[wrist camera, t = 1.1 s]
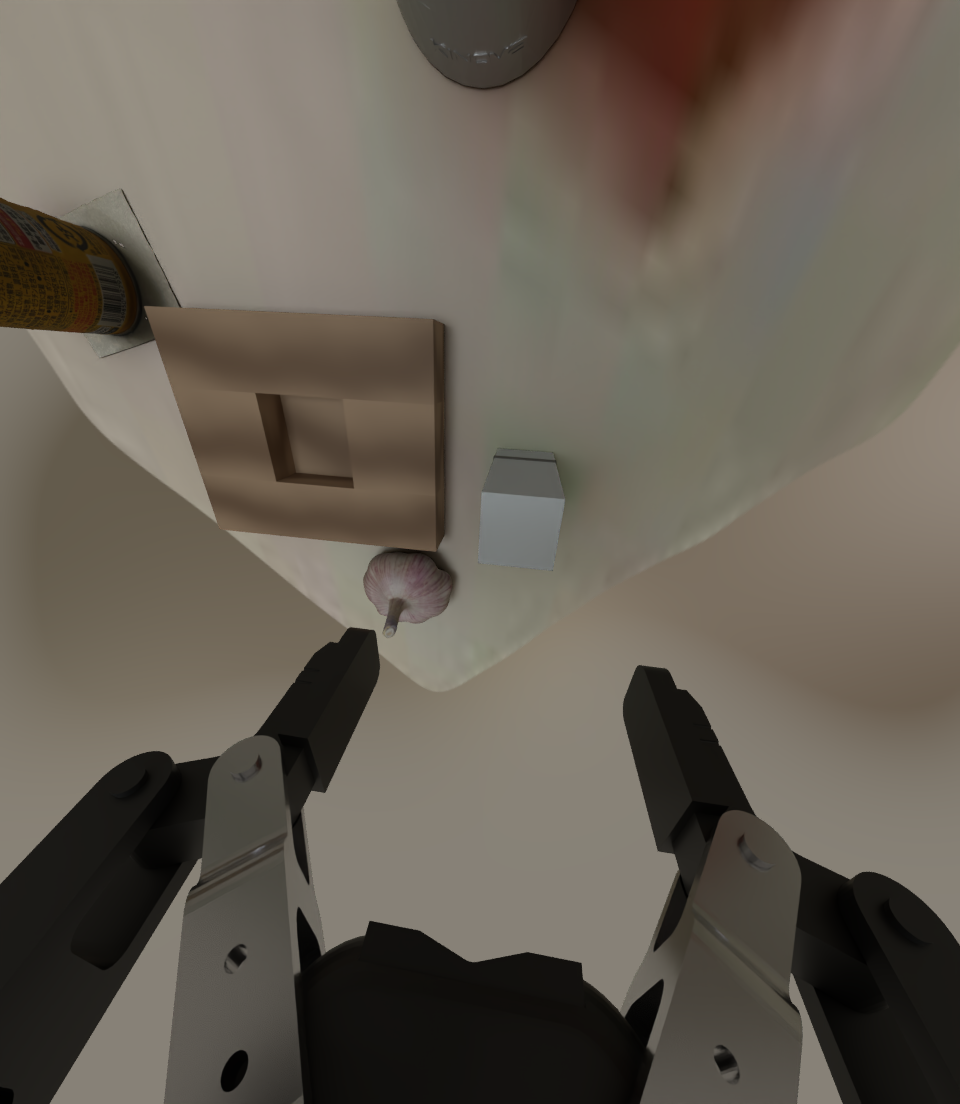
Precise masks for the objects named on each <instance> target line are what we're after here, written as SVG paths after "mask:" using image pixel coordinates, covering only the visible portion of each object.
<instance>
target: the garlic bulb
mask: <svg viewBox="0 0 960 1104" xmlns="http://www.w3.org/2000/svg"><path fill="white" fill-rule="evenodd" d="M363 583H364V588H365V592H366V595H367V597H368V598H369V600H370V601H371V602H372V603H373V604H374V605H375V607H376V608H377V611H378V612H379V613H380V614H381V615H384V616H387V619H386V623H385V627H384V630H383V635H384V636H385V637H386V638H389V637H392V636H393V635H394V634H395V632H396V629H397V624H398V622H410V623H422V622H425V621H426V620H428V619H429V618H431V617H435V616H438V615H439V614H441V613H442V612H443V611H444V610H445V609H446V607H447V605H448V603H449V596H450V593H451V590H452V587H453V583H452V579H451V577H450V575H449V574H448V573H447V572H445V571H443V570H439V569H438V568H437V567H436V565H435V563H434V562H433V560H432V559H430V558H429V557H428V556H426V555H424V554H420V553H411V554H405V553H401V552H393V553H381V554H379V555H377V556H375V557H374V558H373V559H372V560H371V561H370V563H369V566H368V570H367V572H366V573H365V575H364V579H363Z"/></svg>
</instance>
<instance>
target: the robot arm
mask: <svg viewBox="0 0 960 1104" xmlns="http://www.w3.org/2000/svg"><path fill="white" fill-rule="evenodd" d="M576 1H577V0H397V3H398V6H399V8H400V11H401V14H402V16H403V18H404V20H405V23H406V25H407V27H408V29H409V31H410V33H411V35H412V37H413V39H414V41H415V43H416V44H417V45H418V47H419V48H420V50H421V51H422V52H423V54H424V55H425V57H426V58H427V59H428V61H429V62H430V63H431V64H432V65H434V66H435V67H436V68H437V69H438V70H439V71H440V72H441V73H443V74H444V75H445V76H446V77H448V78H450V79H452V80H454V81H456V82H458V83H460V84H462V85H465V86H472V87H478V88H487V87H493V86H499V85H503V84H505V83H507V82H509V81H511V80H513V79H515V78H517V77H519V76H521V75H523V74H524V73H525V72H526V71H528V70H529V69H530V68H531V67H532V66H533V65H535V64H536V63H537V62H538V61H539V60H540V59H541V58H542V57H543V56H544V54H545V53H546V52H547V51H548V49H549V48H550V47H551V46H552V44H553V43H554V42H555V40H556V39H557V38H558V36H559V35H560V33H561V31H562V29H563V27H564V26H565V24H566V22H567V20H568V18H569V16H570V15H571V13H572V11H573V9H574V6H575V4H576ZM379 670H380V662H379V654H378V646H377V638H376V633H375V631H374V630H368V629H360V628H352V627H350V628H348V629H347V631H346V632H345V634H344V635H343V636H342V638H341V639H340V641H339V642H338V643H334V642H329V643H328V644H327V645H325V646H324V647H323V648H321V649H320V650H319V651H317V652H316V653H315V654H314V655H313V657H312V658H311V659H310V661H309V662H308V663H307V665H306V666H305V667H304V671H302V672H301V673H300V674H299V676H298V677H297V679H296V681H295V683H293V684H292V685H291V687H290V688H289V690H288V691H287V692H286V694H285V695H284V697H283V698H282V699H281V701H280V702H279V704H278V705H277V706H276V708H275V709H274V710H273V712H272V713H271V715H270V716H269V717H268V719H267V720H266V721H265V723H264V724H263V726H262V727H261V728H260V730H259V731H258V732H257V733H256V734H255V735H254V736H253V737H249V738H246V739H244V740H241V741H239V742H238V743H236V744H234V745H233V746H231V747H230V748H228V749H227V750H226V751H225V752H224V753H223V754H222V755H221V756H217V757H213V758H208V759H201V760H195V761H190V762H184V763H178V764H174V762H173V760H172V759H171V757H170V756H169V755H168V754H166V753H164V752H160V751H152V752H146V753H142V754H139V755H137V756H134V757H132V758H130V759H127V760H126V761H124V762H122V763H121V764H119V765H117V766H116V767H114V768H113V769H112V770H110V771H109V772H108V773H107V774H106V775H104V776H103V777H102V778H101V779H100V780H99V782H97V783H96V784H95V785H94V787H93V788H92V789H91V790H90V791H89V792H88V793H87V794H86V795H85V796H84V797H83V798H82V799H81V800H80V801H79V802H78V803H77V804H76V805H75V806H74V808H73V809H72V810H71V811H70V812H69V813H68V814H67V815H66V816H65V817H64V818H63V819H62V820H61V821H60V822H59V823H58V824H57V825H56V826H55V828H54V829H53V830H52V831H51V832H50V833H49V834H48V835H47V836H46V837H45V838H44V839H43V840H42V841H41V842H40V843H39V844H38V845H37V846H36V847H35V848H34V849H33V850H32V852H31V853H30V854H29V855H28V856H27V857H26V858H25V859H24V860H23V861H22V862H21V863H20V864H19V865H18V866H17V867H16V868H15V869H14V870H13V872H12V873H11V874H10V875H9V876H8V877H7V878H6V879H5V880H4V881H3V882H2V883H1V884H0V1104H50V1102H51V1100H52V1098H53V1097H54V1095H55V1094H56V1092H57V1090H58V1089H59V1087H60V1085H61V1084H62V1082H63V1081H64V1079H65V1077H66V1076H67V1074H68V1072H69V1071H70V1069H71V1067H72V1066H73V1064H74V1062H75V1061H76V1059H77V1058H78V1056H79V1054H80V1053H81V1051H82V1049H83V1048H84V1046H85V1044H86V1043H87V1041H88V1039H89V1038H90V1036H91V1034H92V1033H93V1031H94V1030H95V1028H96V1026H97V1025H98V1023H99V1021H100V1020H101V1018H102V1016H103V1015H104V1013H105V1012H106V1010H107V1008H108V1006H109V1005H110V1003H111V1002H112V1000H113V998H114V997H115V995H116V993H117V992H118V990H119V989H120V987H121V985H122V983H123V982H124V980H125V979H126V977H127V975H128V974H129V972H130V970H131V969H132V967H133V965H134V964H135V962H136V960H137V959H138V957H139V956H140V954H141V952H142V951H143V949H144V947H145V946H146V944H147V942H148V941H149V939H150V937H151V936H152V934H153V933H154V931H155V929H156V928H157V926H158V924H159V923H160V921H161V919H162V918H163V916H164V915H165V913H166V911H167V910H168V908H169V906H170V905H171V903H172V901H173V900H174V898H175V896H176V895H177V893H178V891H179V890H180V888H181V886H182V885H183V883H184V882H185V880H186V878H187V877H188V875H189V873H190V872H191V870H192V869H193V867H194V865H195V864H196V862H197V860H198V859H200V858H202V865H201V874H200V879H199V882H198V883H197V885H195V886H194V887H192V888H191V890H190V892H189V893H188V896H187V899H186V903H185V908H184V915H183V924H182V935H181V944H180V953H179V963H178V973H177V982H176V992H175V1002H174V1012H173V1021H172V1031H171V1041H170V1051H169V1060H168V1070H167V1079H166V1089H165V1099H164V1104H797V1097H798V1086H799V1074H800V1063H801V1052H802V1037H803V1034H802V1021H801V1016H800V1013H799V1010H798V1009H797V1007H796V1006H795V1005H794V1004H792V1002H791V1000H790V997H789V982H790V974H791V973H792V974H793V976H794V978H795V981H796V984H797V986H798V989H799V991H800V994H801V996H802V999H803V1002H804V1005H805V1007H806V1010H807V1012H808V1015H809V1017H810V1020H811V1023H812V1025H813V1028H814V1030H815V1033H816V1035H817V1038H818V1041H819V1043H820V1046H821V1049H822V1051H823V1053H824V1056H825V1059H826V1061H827V1064H828V1067H829V1069H830V1071H831V1074H832V1077H833V1080H834V1082H835V1085H836V1087H837V1090H838V1092H839V1095H840V1098H841V1100H842V1102H843V1104H960V945H959V944H958V942H957V941H956V939H955V938H954V936H953V935H952V933H951V932H950V931H949V930H948V928H947V927H946V925H945V924H944V923H943V922H942V921H941V919H940V918H939V917H938V916H937V915H936V914H935V913H934V912H933V911H932V910H931V909H930V908H929V907H928V906H927V905H926V904H925V903H924V902H923V901H922V900H921V899H920V898H918V897H917V896H916V895H915V894H913V893H912V892H911V891H910V890H908V889H907V888H905V887H904V886H902V885H901V884H899V883H898V882H896V881H894V880H892V879H891V878H888V877H886V876H884V875H881V874H878V873H874V872H862V873H859V874H858V875H856V876H855V877H853V878H852V879H848V878H846V877H844V876H842V875H839V874H837V873H835V872H833V871H831V870H829V869H827V868H825V867H822V866H821V865H819V864H816V863H814V862H812V861H810V860H808V859H806V858H804V857H802V856H800V855H798V854H796V853H795V852H793V851H792V850H791V849H790V848H789V846H788V845H787V843H786V842H785V841H784V839H783V838H782V837H781V836H780V835H779V834H778V833H777V832H776V831H775V830H774V829H773V828H772V827H771V826H769V825H768V824H767V823H765V822H764V821H762V820H761V819H759V818H758V817H757V816H756V815H755V814H754V812H753V810H752V808H751V806H750V804H749V802H748V800H747V798H746V796H745V794H744V792H743V790H742V788H741V786H740V784H739V782H738V780H737V778H736V776H735V774H734V772H733V770H732V768H731V766H730V764H729V762H728V760H727V757H726V756H725V753H724V752H723V749H722V747H721V746H719V744H718V739H717V737H716V735H715V733H714V731H713V730H712V729H711V725H710V723H709V721H708V719H707V717H706V715H705V713H704V711H703V709H702V707H701V706H700V705H699V704H698V702H697V701H696V700H695V699H694V698H693V697H692V696H691V695H690V694H689V693H688V691H687V690H681V689H677V688H676V685H675V683H674V681H673V678H672V676H671V674H670V672H669V671H668V670H667V669H665V668H657V667H649V666H642V665H639V666H637V668H636V670H635V672H634V675H633V677H632V680H631V682H630V685H629V688H628V690H627V693H626V695H625V698H624V703H623V717H624V722H625V726H626V730H627V734H628V738H629V741H630V745H631V749H632V753H633V757H634V760H635V765H636V769H637V772H638V776H639V780H640V784H641V788H642V792H643V795H644V799H645V803H646V807H647V811H648V815H649V819H650V822H651V826H652V830H653V834H654V838H655V842H656V846H657V849H658V851H660V852H666V853H672V854H675V857H676V860H677V863H678V867H679V870H678V871H677V873H676V876H675V878H674V881H673V884H672V887H671V889H670V892H669V894H668V897H667V900H666V903H665V905H664V908H663V911H662V913H661V916H660V919H659V921H658V924H657V927H656V930H655V932H654V935H653V938H652V940H651V943H650V946H649V948H648V951H647V953H646V955H645V958H644V960H643V962H642V963H641V965H640V967H639V969H638V971H637V972H636V974H635V976H634V979H633V981H632V983H631V985H630V987H629V990H628V992H627V995H626V997H625V1000H624V1003H623V1005H622V1008H621V1011H620V1012H619V1011H618V1009H617V1008H616V1007H615V1006H614V1005H613V1004H612V1003H611V1002H610V1001H609V1000H608V999H607V998H606V997H605V996H604V995H603V994H601V993H600V992H599V991H598V990H597V989H596V988H594V987H593V986H591V984H589V983H587V982H586V981H584V980H583V977H582V976H583V975H582V964H581V963H579V962H574V961H568V960H564V959H559V958H554V957H549V956H544V955H539V954H534V953H529V952H526V953H521V954H516V955H511V956H506V957H501V958H495V959H491V960H485V961H480V962H469V961H466V960H465V959H463V958H462V957H460V956H459V955H457V954H455V953H454V952H452V951H451V950H449V949H447V948H446V947H444V946H443V945H441V944H440V943H438V942H436V941H435V940H433V939H432V938H430V937H429V936H427V935H426V934H424V933H422V932H421V931H418V930H413V929H408V928H403V927H398V926H393V925H388V924H383V923H378V922H373V921H370V922H369V925H368V928H367V932H366V935H365V936H360V937H357V938H354V939H351V940H348V941H346V942H343V943H342V944H340V945H338V946H336V947H334V948H332V949H331V950H329V951H328V952H325V944H324V937H323V930H322V924H321V918H320V913H319V909H318V904H317V900H316V896H315V891H314V885H313V878H312V871H311V863H310V855H309V847H308V839H307V831H306V824H305V816H304V809H303V806H304V804H305V802H306V800H307V798H308V796H309V794H310V792H311V791H317V792H323V793H325V792H326V790H327V788H328V786H329V783H330V781H331V779H332V777H333V775H334V773H335V770H336V768H337V766H338V764H339V762H340V760H341V758H342V756H343V753H344V751H345V749H346V747H347V745H348V743H349V741H350V738H351V736H352V734H353V732H354V729H355V728H356V726H357V724H358V721H359V719H360V717H361V715H362V713H363V711H364V709H365V707H366V704H367V702H368V700H369V698H370V696H371V694H372V692H373V689H374V687H375V685H376V683H377V680H378V676H379Z"/></svg>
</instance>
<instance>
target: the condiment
mask: <svg viewBox="0 0 960 1104" xmlns="http://www.w3.org/2000/svg"><path fill="white" fill-rule="evenodd" d="M113 240H115V241H116V242H117V244H115V243H114V242H113ZM119 243H122V244H123V245H124V247H122V246H120V245H119ZM154 254H155V253H154V252H153V250H152V248H151V247H150V245H149V244H148V242H147V240H146V238H145V237H144V234H143V233H142V231H141V228H140V226H139V224H138V222H137V219H136V217H135V216H134V214H133V213H132V211H131V209H130V207H129V205H128V203H127V201H126V199H125V197H124V195H123V193H122V191H121V189H117V190H115V191H113V192H110V193H108V194H106V195H105V196H103V197H100V198H97V199H94V200H93V201H92V202H90V203H87V204H84V205H82V206H81V207H79V208H77V209H75V210H73V211H72V212H70V213H68V214H66V215H64V216H62V217H60V218H55V217H52V216H50V215H47V214H45V213H42V212H40V211H38V210H34V209H31V208H29V207H24V206H20V205H17V204H14V203H11V202H8V201H6V200H4V199H2V198H0V327H11V328H25V329H32V330H34V329H37V330H51V331H64V332H77V333H84V335H85V337H86V338H87V339H88V341H89V343H90V345H91V346H92V348H93V350H94V351H95V353H96V354H97V356H98V357H99V358H101V357H104V356H107V355H110V354H113V353H116V352H119V351H121V350H125V349H129V348H132V347H134V346H137V345H140V344H142V343H145V342H147V341H150V340H152V339H155V337H154V334H153V331H152V328H151V325H150V323H149V320H148V317H147V314H146V311H145V308H144V306H155V307H177V308H180V307H179V305H178V303H177V301H176V299H175V297H174V294H173V293H172V291H171V289H170V287H169V284H168V281H167V279H166V277H165V275H164V273H163V271H162V269H161V268H160V266H159V264H158V262H157V260H156V258H155V256H154ZM145 317H146V318H147V319H145Z"/></svg>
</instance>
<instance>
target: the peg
mask: <svg viewBox="0 0 960 1104" xmlns="http://www.w3.org/2000/svg"><path fill="white" fill-rule="evenodd" d="M564 504H565V496H564V492H563V489H562V485H561V481H560V477H559V474H558V470H557V466H556V460H555V459H554V455H553V452H539V451H526V450H513V449H500V448H498V450H497V452H496V455H494V460H493V463H492V466H491V468H490V471H489V474H488V476H487V479H486V482H485V485H484V487H483V490H482V497H481V516H480V534H479V553H478V563H482V564H492V565H501V566H511V567H520V568H530V569H539V570H549V571H553V567H554V561H555V555H556V550H557V544H558V538H559V533H560V527H561V521H562V515H563V510H564Z"/></svg>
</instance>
